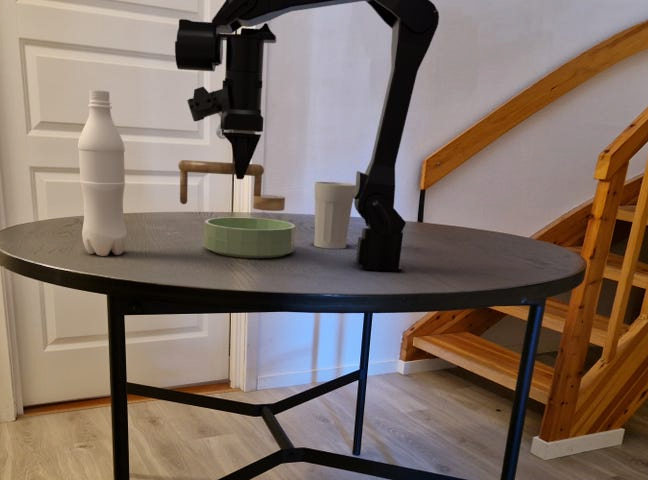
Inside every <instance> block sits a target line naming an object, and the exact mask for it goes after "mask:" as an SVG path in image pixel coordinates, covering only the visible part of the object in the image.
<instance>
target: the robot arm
mask: <svg viewBox="0 0 648 480" xmlns="http://www.w3.org/2000/svg"><path fill="white" fill-rule="evenodd" d="M359 2H366V3H367V4H368V5H369V6H370V7H371V8H372V10H373V11H374V12H375V13H376V14H377V16H379V18H380V19H381V20H382V21H383V22H384V23H385V24H386V25H387V26H388V27H389V28H390V29H391V30H392V31H391V44H390V45H391V46H390V54H391V58H390V63H391V65H390V67H391V68H390V74H389V77H388V82H387V87H386V91H385V95H384V99H383V100H384V101H383V105H382V108H381V113H380V118H379V123H378V126H377V132H376V135H375V139H374V143H373V144H374V145H373V148H372V154H371V158H370V161H369V164H368V166H367V168H366V170H365V172H362V171H359V170H357V171H356V174H355V185H356V186H355V189H354V191H353V192H352V194H351V196H352V197H353V198H354V199H353V204H354V207H355V210H356V212H357V214H359V216H360V217H361V218H363V220H364V223H365V226H366V227H363V228H362V230H361V232H362V233H361V236H359V237H358V238H357V245H356V246H357V248H356V257H355V261H356V263H357V264H358V266H359V267H360V268H361V269H362V270H365V271H383V272H384V271H386V272H402V267H401V266H400V263H401V262H400V261H401V254H402V247H403V246H402V245H403V238H404V231H403V230H404V229H405V226H406V225H407V223H406V221H405V219H404V218H403V217H402V216H401V215H400V214H399V213H398V211H397V210H396V208H395V195H396V165H397V164H396V163H397V159H398V154H399V150H400V147H401V143H402V139H403V134H404V129H405V126H406V121H407V117H408V113H409V109H410V105H411V100H412V96H413V92H414V88H415V84H416V79H417V75H418V71H419V69H420V67H421V64H422V63H423V61H424V58H425V57H426V54H427V52H428V50H429V49H430V46H431V44H432V42H433V39H434V36H435V34H436V31H437V29H438V26H439V22H440V13H439V10H438V9H437V7H436V4H434V3H433V2H432V1H431V0H225V1H224V3H223V4H222V5H221V7H220V8H219V10H218V11H217V12H216V14H215V15H214V17H213V18H212V20H211V22H210V21H195V20H190V19H186V18H183V19H182V18H180V19H178V29H177V32H176V40H175V41H174V56H175V64H176V68H177V69H178V70H181V71H183V70H184V71H197V72H200V71H201V72H215V71H216V67H219V66H220V65H221V66H222V65H223V59H224V41H225V43H226V44H225V72H224V73H225V74H224V80H222V88H220V89H218V90H212V91H211V92H209V91H208V90H207V89H206V88H205V86H201V87H197V88H194V90H193V96H192V98H188V99H187V105H188V107H189V111H190V115H191V117H192V120H193V122H195V123H196V122H199V121H202V120H204V119H205V118H207V117H210V116H213V115H217V114H219V113H221V114H220V125H219V128H220V130H223V131H222V132H221V134H222V136H224V138H226V140H227V141H228V142H229V143H230V145H231V151H232V157H233V163H234V165H235V172H236V175H235V178H236V179H237V180H244V178H245V176H246V175H245V174H246V171H247V169H248V166H249V164H251V161H252V159H253V156H254V154H255V151H256V148H257V147H258V144H259V141H260V139H261V137H262V134H261V133H263V132H264V117H263V116H262V95H263V93H262V92H263V71H264V52H265V51H264V48H265V44H276V43H277V36H276V35H275V34H274V32H273V31H272V30H271V29H270V27H269V24H268V23H267V22H270V21H272V20H274V19H276V18H278V17H281V16H282V15H286V14H288V13H291V12H296V11H303V10H310V9H316V8H317V9H318V8H324V7H331V6H338V5H346V4H353V3H359ZM261 24H263V25H262V26H261V27H260V28H251V27H256V26H258V25H261ZM238 30H240V33H235V32H236V31H238ZM259 133H260V134H259Z"/></svg>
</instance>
